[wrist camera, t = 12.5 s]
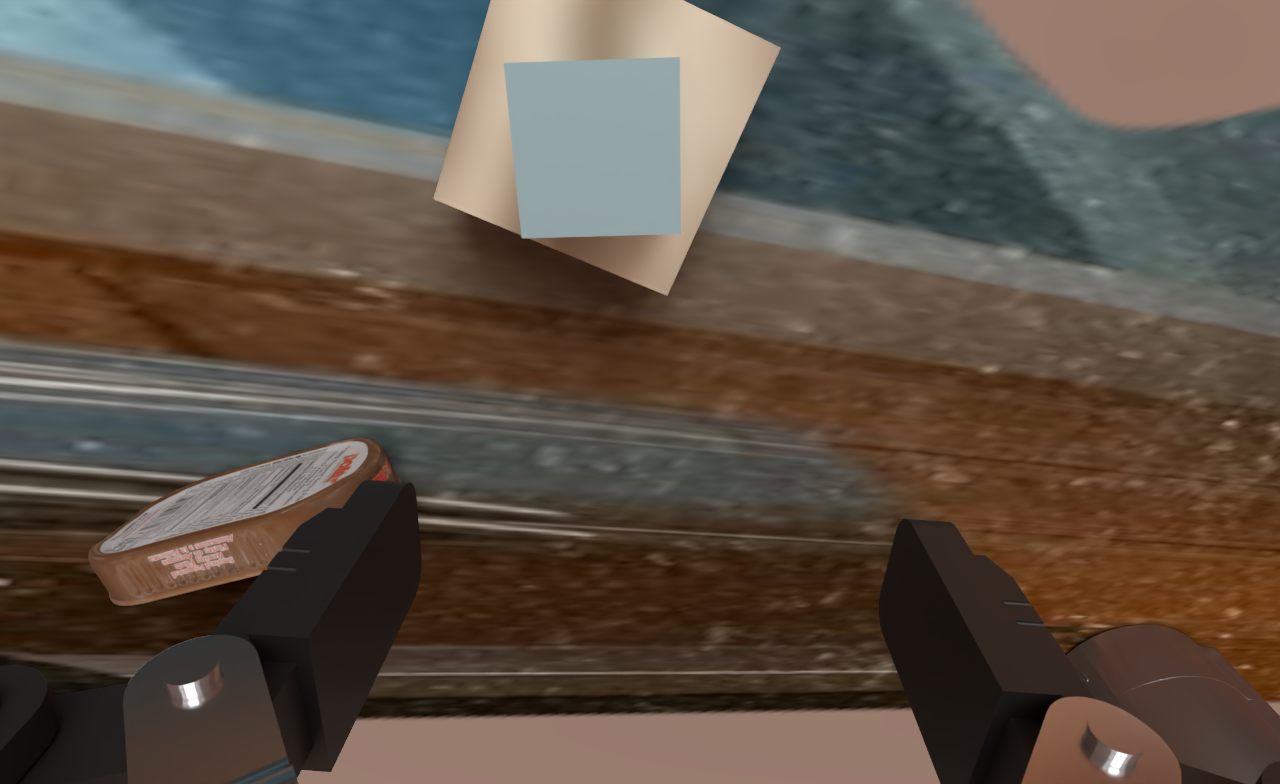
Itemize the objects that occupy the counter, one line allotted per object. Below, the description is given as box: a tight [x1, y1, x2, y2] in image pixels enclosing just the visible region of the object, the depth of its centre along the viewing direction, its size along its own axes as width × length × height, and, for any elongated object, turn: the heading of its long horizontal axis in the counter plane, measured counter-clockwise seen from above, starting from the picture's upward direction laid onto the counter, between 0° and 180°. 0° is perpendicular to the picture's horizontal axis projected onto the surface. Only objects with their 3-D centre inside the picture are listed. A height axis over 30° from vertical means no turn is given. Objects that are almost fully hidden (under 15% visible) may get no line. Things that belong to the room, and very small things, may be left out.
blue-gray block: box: [504, 57, 681, 238], centre depth 24 cm, size 5×5×6 cm
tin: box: [88, 438, 401, 606], centre depth 35 cm, size 15×3×8 cm, turn 107°
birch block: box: [434, 0, 780, 296], centre depth 29 cm, size 10×10×5 cm
